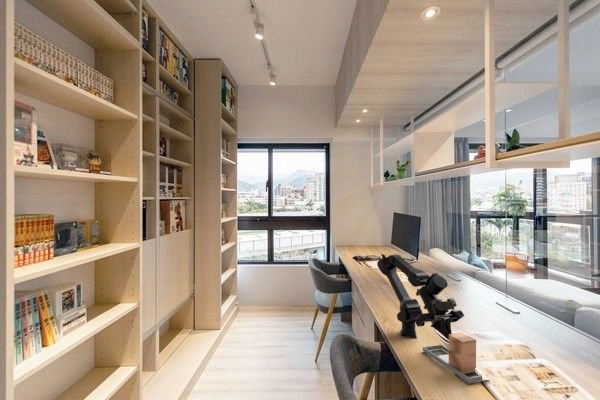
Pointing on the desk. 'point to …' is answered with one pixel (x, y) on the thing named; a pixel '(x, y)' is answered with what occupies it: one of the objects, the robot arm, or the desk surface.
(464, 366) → the terracotta block
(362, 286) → the desk surface
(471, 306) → the desk surface
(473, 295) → the desk surface
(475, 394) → the desk surface
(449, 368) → the trap box
